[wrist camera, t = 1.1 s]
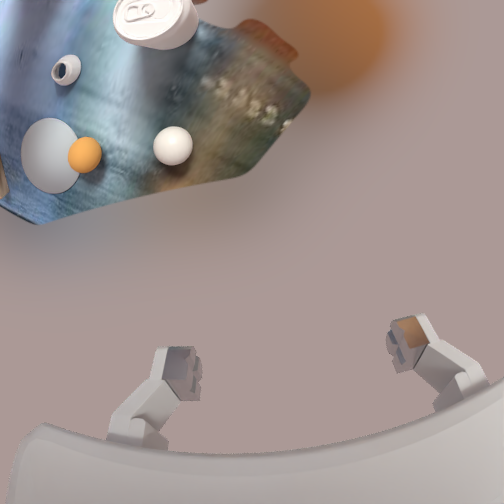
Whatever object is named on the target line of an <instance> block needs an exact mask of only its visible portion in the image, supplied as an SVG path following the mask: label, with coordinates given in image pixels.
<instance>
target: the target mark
mask: <svg viewBox="0 0 504 504" xmlns="http://www.w3.org/2000/svg"><path fill="white" fill-rule="evenodd" d="M76 140H78V138H77V136H76V134H75V133H74V131H73V130H72V129H71V127H69V126H68V125H67V124H66V123H65V122H63V121H61V120H59V119H56V118H44V119H41V120H39V121H37V122H35V123H34V124H33V125H32V126H31V127H30V128H29V129H28V130H27V132H26V134H25V136H24V138H23V141H22V145H21V161H22V166H23V169H24V171H25V174H26V175H27V177H28V179H29V180H30V181H31V183H32V184H33V185H34V186H36V187H37V188H38V189H40V190H42V191H44V192H47V193H52V194H56V193H61V192H64V191H66V190H68V189H69V188H70V187H71V186H72V185H73V184H74V183H75V182H76V180H77V178H78V176H79V174H80V173H78V172H76V171H74V170H73V169H72V168H71V167H70V165H69V162H68V152H69V149H70V147H71V145H72V144H73V143H74V142H75V141H76Z"/></svg>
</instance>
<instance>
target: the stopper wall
mask: <svg viewBox="0 0 504 504" xmlns="http://www.w3.org/2000/svg"><path fill="white" fill-rule="evenodd" d="M8 192H9V187H8V184H7V180H6V177H5V173H4V169H3V165H2V161H1V156H0V199H2V198H3V197H4V196H5V195H6V194H7V193H8Z"/></svg>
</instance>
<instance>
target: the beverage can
mask: <svg viewBox="0 0 504 504" xmlns="http://www.w3.org/2000/svg"><path fill="white" fill-rule="evenodd" d="M198 23H199V18H198V14H197V11H196V9H195V7H194V5H193V3H192V1H191V0H119V1H118V2H117V4H116V6H115V9H114V13H113V24H114V28H115V30H116V32H117V34H118V35H119V36H120V37H121V38H122V39H123V40H124V41H126V42H128V43H130V44H134V45H139V46H144V47H149V48H154V49H159V50H169V49H174V48H177V47H179V46H181V45H183V44H185V43H186V42H187V41H189V40H190V39H191V38H192V36H193V35H194V34H195V32H196V30H197V27H198Z"/></svg>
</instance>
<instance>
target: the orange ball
mask: <svg viewBox="0 0 504 504" xmlns="http://www.w3.org/2000/svg"><path fill="white" fill-rule="evenodd" d="M101 155H102V151H101V147H100V145H99V143H98V142H97V141H96V140H95V139H93V138H91V137H83V138H80V139H78V140H76V141H75V142H74V143H73V144H72V145H71V147H70V149H69V152H68V162H69V165H70V167H71V168H72V169H73V170H74V171H76V172H78V173H87V172H90V171H92V170H93V169H94V168H96V166H97V165H98V164H99V162H100V160H101Z"/></svg>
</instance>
